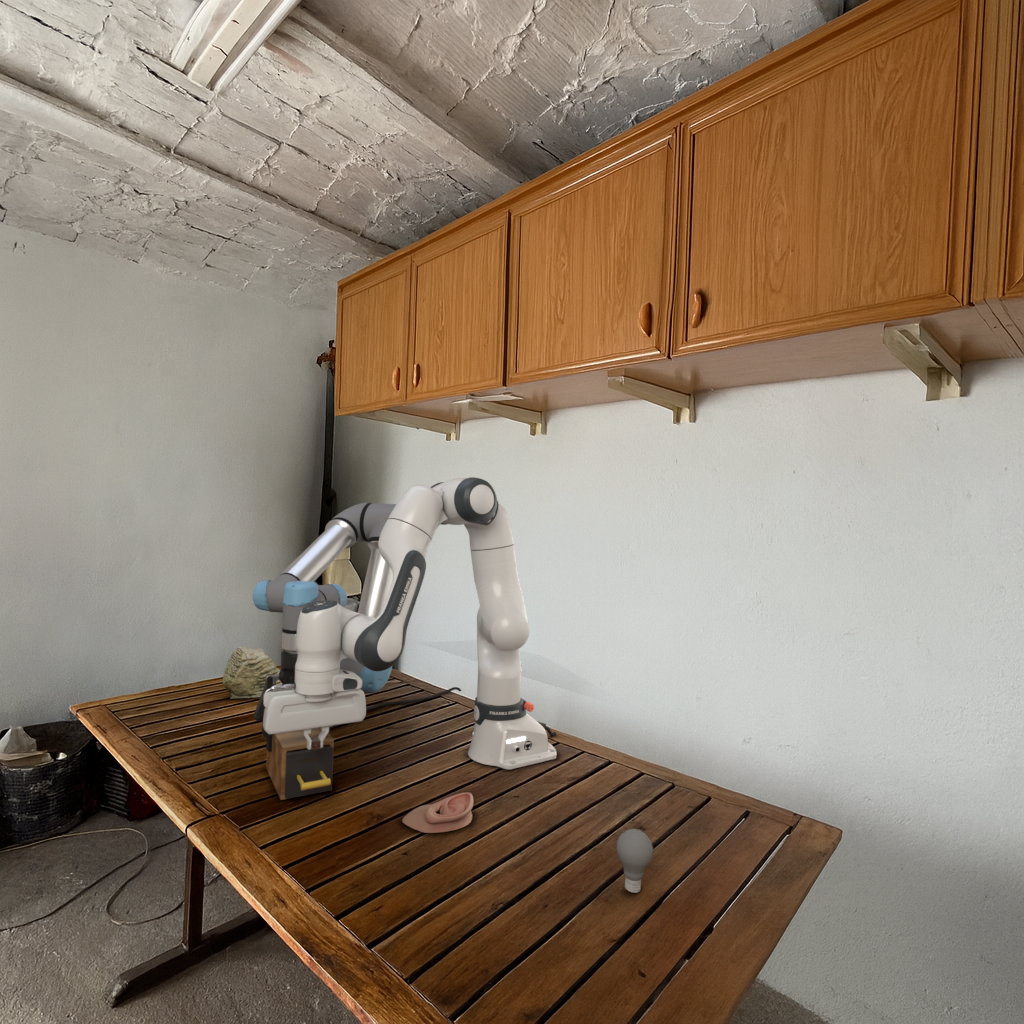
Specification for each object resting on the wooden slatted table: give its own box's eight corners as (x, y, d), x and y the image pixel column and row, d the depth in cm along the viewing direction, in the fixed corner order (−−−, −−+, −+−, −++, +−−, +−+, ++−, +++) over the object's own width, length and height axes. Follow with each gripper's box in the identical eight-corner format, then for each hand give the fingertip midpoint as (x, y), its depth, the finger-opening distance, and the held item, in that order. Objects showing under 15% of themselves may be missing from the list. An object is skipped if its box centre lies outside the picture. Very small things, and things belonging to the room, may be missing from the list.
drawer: (339, 801, 130) (340, 757, 130) (291, 811, 125) (293, 765, 125) (313, 762, 148) (315, 723, 148) (271, 769, 144) (273, 729, 143)
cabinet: (332, 790, 137) (334, 739, 137) (280, 800, 132) (282, 747, 131) (313, 760, 151) (315, 715, 151) (266, 768, 146) (268, 721, 146)
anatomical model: (396, 808, 122) (417, 782, 133) (395, 828, 122) (416, 801, 133) (463, 818, 119) (478, 791, 130) (462, 839, 119) (477, 810, 131)
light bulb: (610, 879, 108) (613, 822, 108) (644, 879, 109) (647, 822, 109) (619, 902, 102) (622, 840, 102) (655, 901, 103) (658, 840, 103)
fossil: (218, 695, 195) (220, 647, 195) (278, 685, 208) (279, 640, 207) (228, 703, 189) (230, 653, 188) (289, 692, 201) (290, 645, 201)
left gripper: (246, 658, 135) (243, 760, 136) (353, 649, 147) (350, 743, 148) (241, 650, 142) (238, 747, 142) (344, 642, 154) (341, 732, 154)
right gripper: (266, 691, 121) (263, 762, 122) (369, 679, 132) (367, 745, 132) (260, 682, 127) (258, 750, 127) (360, 671, 137) (358, 735, 138)
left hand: (295, 745), depth 145 cm, fingers closed on cabinet, 11 cm apart
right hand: (314, 747), depth 130 cm, fingers closed
